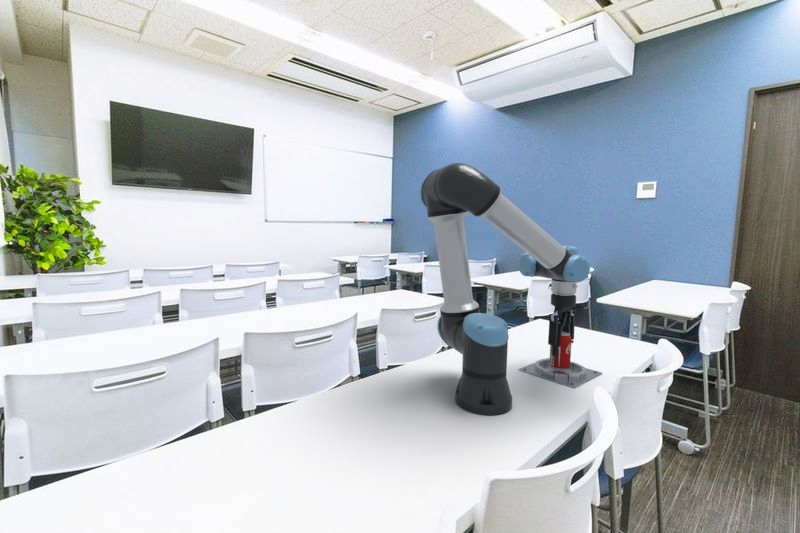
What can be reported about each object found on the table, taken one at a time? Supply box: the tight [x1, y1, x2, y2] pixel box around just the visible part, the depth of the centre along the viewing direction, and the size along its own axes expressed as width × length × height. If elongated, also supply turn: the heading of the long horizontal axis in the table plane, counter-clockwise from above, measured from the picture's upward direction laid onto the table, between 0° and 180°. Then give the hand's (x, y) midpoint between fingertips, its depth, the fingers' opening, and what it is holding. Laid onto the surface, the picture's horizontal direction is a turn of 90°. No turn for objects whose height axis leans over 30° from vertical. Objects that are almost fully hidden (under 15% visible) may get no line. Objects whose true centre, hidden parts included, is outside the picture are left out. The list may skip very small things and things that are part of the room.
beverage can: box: [549, 332, 573, 371], centre depth 127 cm, size 6×6×12 cm
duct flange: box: [517, 357, 603, 389], centre depth 128 cm, size 19×19×2 cm
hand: (560, 363), depth 128 cm, fingers closed on beverage can, 5 cm apart
